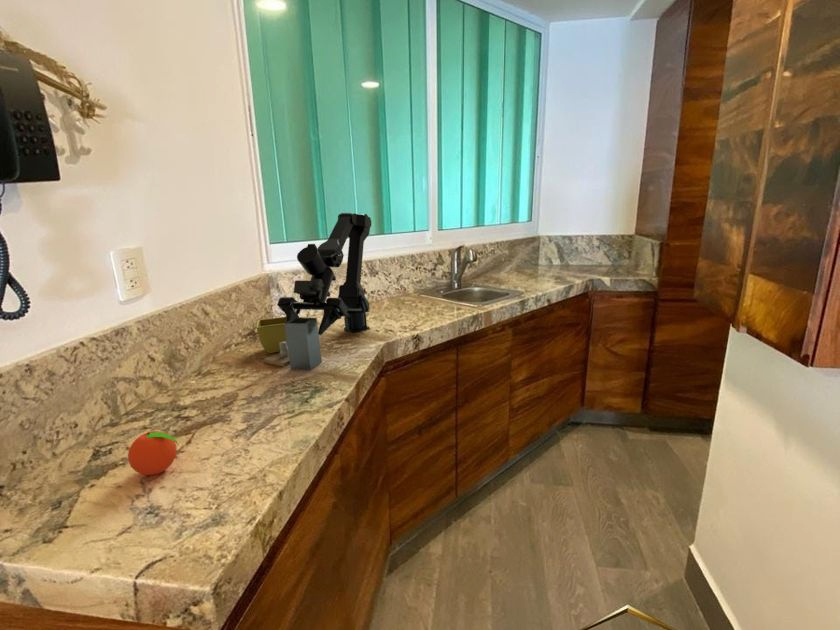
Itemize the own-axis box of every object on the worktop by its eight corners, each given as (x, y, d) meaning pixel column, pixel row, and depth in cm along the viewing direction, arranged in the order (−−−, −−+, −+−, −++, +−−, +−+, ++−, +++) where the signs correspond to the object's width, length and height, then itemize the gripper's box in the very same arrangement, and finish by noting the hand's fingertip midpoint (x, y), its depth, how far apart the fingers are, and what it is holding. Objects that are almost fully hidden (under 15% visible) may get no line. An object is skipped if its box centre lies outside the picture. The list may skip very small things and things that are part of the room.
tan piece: (286, 353, 130) (284, 336, 129) (305, 357, 126) (303, 340, 125) (264, 362, 124) (261, 345, 122) (284, 366, 119) (281, 348, 118)
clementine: (194, 457, 78) (186, 421, 76) (174, 482, 71) (165, 442, 69) (147, 460, 78) (139, 423, 76) (123, 485, 71) (113, 445, 69)
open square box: (302, 361, 123) (296, 317, 120) (321, 362, 121) (316, 317, 118) (290, 369, 117) (284, 323, 114) (310, 370, 116) (305, 324, 112)
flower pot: (260, 356, 128) (255, 327, 126) (262, 347, 136) (258, 319, 134) (291, 352, 130) (288, 323, 128) (292, 344, 139) (288, 316, 136)
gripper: (276, 268, 121) (257, 317, 114) (339, 267, 116) (323, 319, 108) (295, 290, 130) (278, 338, 123) (354, 291, 125) (340, 340, 118)
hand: (303, 333), depth 118 cm, fingers open, 9 cm apart
